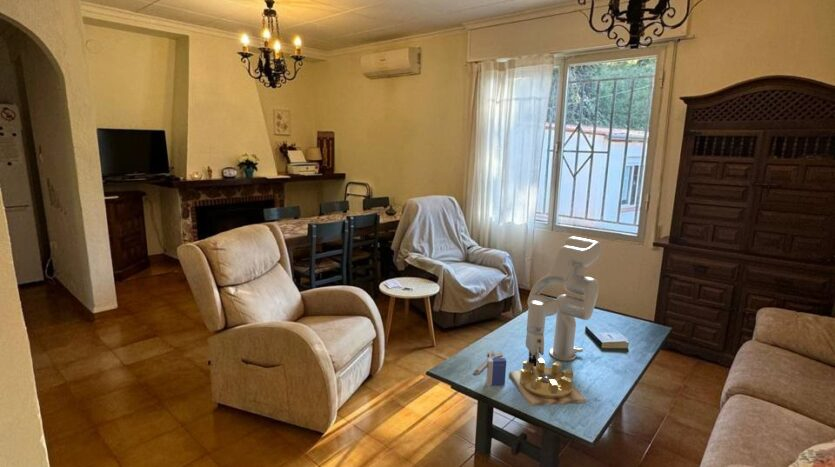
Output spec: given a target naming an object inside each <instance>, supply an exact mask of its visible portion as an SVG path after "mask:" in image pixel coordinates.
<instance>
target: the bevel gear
mask: <svg viewBox="0 0 835 467" xmlns="http://www.w3.org/2000/svg"><path fill="white" fill-rule="evenodd" d="M520 371H521V374H520V384H521V385H522V387H523V388H524V389H525V390H527V391H528V392H530V393H531V394H534V395H536V396H539V397H542V398H548V399H561V398H565V397H567V396H569V395H570V394H571V393H572V390H573V385H574V383H573V382H574V381H573V379H574V371H573V370H572V369H562V362H561V361H558V360H556V361H554V362H553V363H552V366H551V367H550V366H546V362H545V360H544V358H543V357H539V359H537V364H536V366H534V364H533V363H531V362H529V360H524V361H523V362H522V368H520Z"/></svg>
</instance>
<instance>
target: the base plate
mask: <svg viewBox="0 0 835 467" xmlns="http://www.w3.org/2000/svg"><path fill="white" fill-rule="evenodd" d="M520 374H521V370H515V371H514V370H509V376H510V378H511V379H512V380H513V383H515V385H516V387H517V388H518V390H519V392H520V393H521V395H522V396H523V399H525V401H526V402H527V404H528V405H529V407H533V406H534V407H535V406H549V405H563V404H565V405H566V404H577V403H578V404H581V403H586V397H585V396H584V395H583V394H582V393H581V392H580V391H579V390H578V388H577V387H576V386H575V385H574V384H573V390H572V393H571V394H570V395H569V396H567V397H565V398H561V399H548V398H542V397H539V396H536V395H534V394H531V393H530V392H528V391H527V390H525V389H524V388H523V387H522V385H521V384H520Z"/></svg>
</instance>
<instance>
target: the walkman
mask: <svg viewBox="0 0 835 467" xmlns="http://www.w3.org/2000/svg"><path fill="white" fill-rule="evenodd" d="M487 358H488V357H487ZM506 370H507V359H506V358H505V357H503V356H502V357H501V358H488V362H487V367H486V379H485V381H486V386H487V387H492V386H494V387H495V386H497V387H498V386H506V383H505V382H506V372H507V371H506Z"/></svg>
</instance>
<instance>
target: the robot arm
mask: <svg viewBox="0 0 835 467" xmlns="http://www.w3.org/2000/svg"><path fill="white" fill-rule="evenodd" d="M602 253H603V246H602V243H601V242H600V241H598V240H594V239H593V240H592V239H588V238H584V237H579V236H570V237H569V236H568V237H567V238H566V239H565V243H564V245H562V246H560V247H559V249H558V251H557V253H556V256H555V258H554V260H553V263H552V264H551V267H550V270H549V272H548V273H547V274H546V275H544V276H542V277H541V278H539V279H538V280H537V281H536V282H535V283H534V284H533V285H532V288H531V290H530V292H529V295H528V298H527V303H526V304H527V306H528V310H527V311H528V312H527V320H526V321H527V322H526V335H525V336H526V337H525V347H526V348H527V350H528V361H529V362H531V363H533V364H534V366H537V359H539V358H540V355H541V356H544V350H545V337H544V333H545V325H546V317H551V316H555V325H554V326H555V327H554V335H553V336H554V339H553V346H552V348H550V350H549V355H550V357H552V358H553V359H556V360H557V361H558V360H559V361H563V362H571V361H574V360H575V359H576V358H577V353H583V348H581V347H579V348H578V346H574V345H575V338H576V337H575V336H576V328H577V321H576V318H577V319H580V320H583V321H588V320H590V319H591V317H593V316H592V315H593V313H594V310H595V307H596V303H597V299H598V295H599V290H600V285H599V284H600V283H599V281H598V279H596V278H593V277H591V276H586V274H587V270H588V267H589V266H590V265H591V264H592V263H594V262H595V261H596V260H597V259H599V257H600V256H601V254H602ZM556 284H563V287H564V290H566V291H567V292H569V293H572V294H575V295H579V296H583V298H581V297H577V296H575V295H571V294H566V293H564V294H559V295H558V296H557V297H556V299H555V298H552V297H549V296H546V295H542V294H541V293H542V291H543V290H544V289H545V288H547V287H548V286H551V285H556Z"/></svg>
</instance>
